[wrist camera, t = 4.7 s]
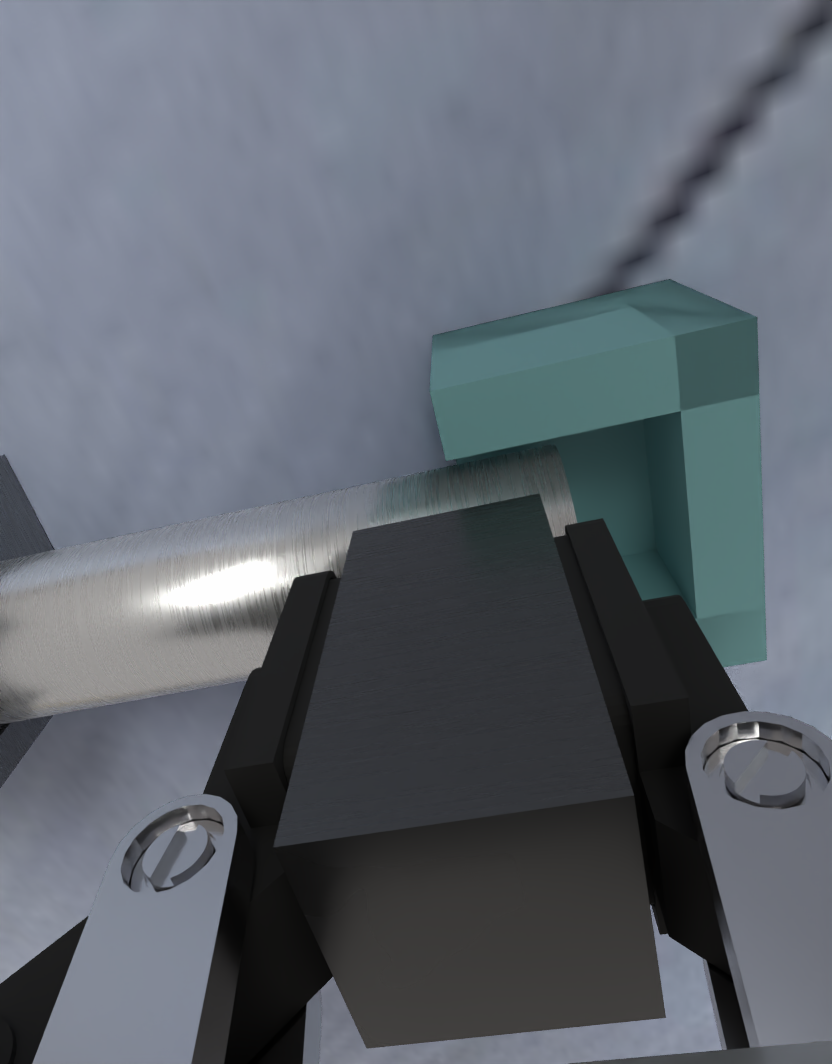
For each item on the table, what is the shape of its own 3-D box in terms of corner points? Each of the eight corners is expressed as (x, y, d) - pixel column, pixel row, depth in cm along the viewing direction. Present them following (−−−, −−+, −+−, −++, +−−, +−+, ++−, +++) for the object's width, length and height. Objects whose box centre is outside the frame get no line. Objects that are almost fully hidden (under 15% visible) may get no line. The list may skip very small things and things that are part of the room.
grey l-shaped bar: (545, 420, 14) (698, 776, 5) (568, 564, 15) (719, 1018, 7) (-255, 594, 16) (-970, 1020, 8) (-171, 704, 17) (-708, 1163, 9)
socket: (669, 279, 15) (757, 316, 11) (691, 548, 17) (766, 660, 13) (433, 335, 15) (429, 391, 11) (489, 586, 18) (503, 703, 14)
